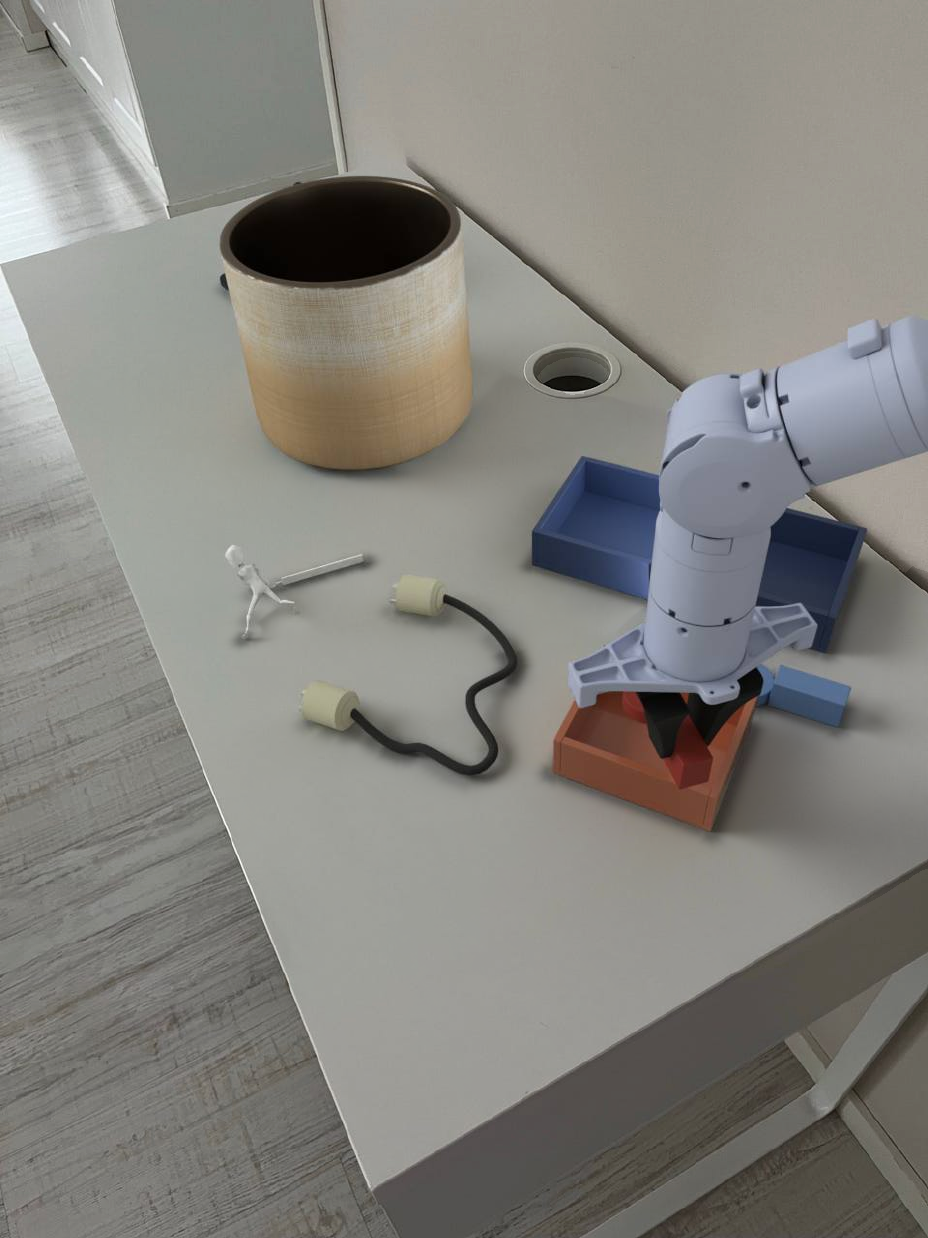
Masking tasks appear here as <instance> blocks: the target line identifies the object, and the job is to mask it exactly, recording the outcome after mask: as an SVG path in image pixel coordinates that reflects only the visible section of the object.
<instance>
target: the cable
mask: <svg viewBox="0 0 928 1238" xmlns="http://www.w3.org/2000/svg"><path fill="white" fill-rule="evenodd" d="M392 589H394V590H395V598H391V599H389V602H390V604H391V605H393V606H396V608H397V609H398V611H400V612H404V613H410V614H411V613H412V614H417V615H422V616H429V617H434V618H435V617H438V616H439V615H440V614H441V613H443V611H444V609H445V608H446V606H447V605H448V606H450V607H452V608H454V609H457V610H458V611H461V612H462V613H464V614H466V615H467V616H469V617H470V618H472V619H474V620H475V621H476V622H478V623H479V624H480V625H482V627H484V628H485V629H486V630H487V631H488V632H489V633H490V634H491V635H492V637H494V638H495V640H496V641H497V643H499V645H500V647H501V648H502V649H503V652H504V654H505V656H506V659H507V661H508V662H507V664H506V665H505V666H504V667H503V668H502V669H500V670H498V671H496V672H494V673H493V674H491V675H489V676H486V677H484V678H482V679H480V680H478V681H476V682H475V683H473V684H472V685H471V686H470V687H469V688H468V689H467V691H466V693H465V699H464V701H465V703H464V704H465V708H466V712H467V714H468V716H469V718H470V721H472V723H473V725H474V726H475V728H476V729H477V730H478V733H480V735H481V736H482V738H483V740H484V741H485V743H486V745H487V749H488V750H487V751H488V753H487V755H486V756H485V757H484V758H483V759H482V760H481V761H480V762H479V763H476V764H473V765H469V764H465V763H461V762H459V761H457V760H455V759H453V758H451V757H449V756H448V755H446V754H445V753H443V752H441V751H440V750H438V749H436V748H434V747H432V746H430V745H428V744H426V743H422V742H410V743H404V742H400V741H397V740H395V739H392V738H391V737H389V736H387V735H386V734H384V733H383V732H382V731H381V730H380V729H378V728H377V727H376V726H375V725H374V724H373V723H371V722H370V721H369V720H368V719H367V718H366V717H365V715H363V714H362V713H361V712H360V709H361V705H360V699H359V696H358V694H357V692H355V691H354V690H351V689H347V688H344V687H342V686H338V685H335V684H333V683H332V684H331V683H328V682H326V681H322V680H319V679H318V680H314V681H313V682H312V683H310V684H309V685H308V686H307V688H304V689H303V690H302V691H301V692H300V695H301V696H302V699H301V703H300V705H298V706H296V709H297V711H298V712H300V713H301V715H302V717H303V718H304V719H306V720H307V721H310V722H313V723H316V724H320V725H322V726H325V727H328V728H331V729H334V730H337V731H340V732H341V731H342V732H344V731H346V730H348V729H349V728H350V727H351V726H352V725H353V724H354V723H356V724H357V725H358V727H360V728H361V729H362V730H363V731H364V732H365V733H366V734H368V735H369V736H370V737H371V738H373V740H375V741H376V742H377V743H379V744H381V745H382V746H383V747H385V748H387V749H388V750H390V751H393V752H396V753H399V754H415V753H419V754H422V755H425V756H427V757H428V758H431V759H432V760H434V761H435V762H437V763H438V764H439V765H442V766H444V768H446V769H449V770H450V771H453V772H454V773H458V774H459V775H463V776H470V777H471V776H477V775H480V774H482V773H484V772H486V771H488V770H489V769H490V768H491V766H493V764H494V763H495V762H496V760H497V758H498V756H499V745H498V741H497V739H496V737H495V735H494V734H493V732H492V731H491V729H490V728H489V726H488V725H487V724H486V722H485V720H484V719H483V718H482V716H481V714H480V713H479V711H478V708H477V705H476V701H475V700H476V695H477V694H478V693H480V692H481V691H483V690H485V689H486V688H489V687H491V686H492V685H495V684H498V683H499V682H501V681H503V680H504V679H506V678H508V677H509V676H510V675H512V674H513V673H514V672H515V670H516V668H517V666H518V657H517V654H516V652H515V649H514V647H513V646H512V644H511V642H510V641H509V639H508V638H507V637H506V635H505V634H504V633H503V631H502V630H501V629H500V628H499V627H498V626H497V625H496V624H495V623H494V622H493V621H492V620H491V619H489V618H488V617H487V616H485V615H484V614H483V613H482V612H480V611H479V610H477V609H476V608H474V607H472V606H471V605H469V604H468V603H466V602H464V601H462V600H460V599H458V598H456V597H453V596H451V595H449V594H448V588H447V586H446V584H445V583H444V580H442V579H439V578H434V577H433V578H432V577H427V576H420V575H412V574H403V575H402V577H400V579H399V581H398V582H396V583H393V585H392Z"/></svg>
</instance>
